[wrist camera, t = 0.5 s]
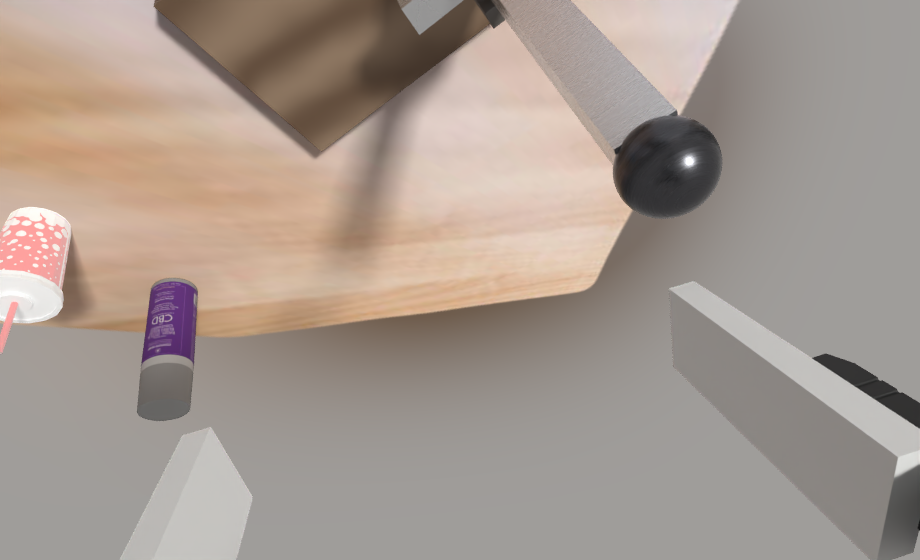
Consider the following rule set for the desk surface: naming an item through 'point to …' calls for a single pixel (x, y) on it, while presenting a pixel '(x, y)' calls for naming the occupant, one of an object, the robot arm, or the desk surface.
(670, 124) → the lever
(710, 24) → the desk surface
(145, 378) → the container
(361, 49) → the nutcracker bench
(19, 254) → the beverage cup
